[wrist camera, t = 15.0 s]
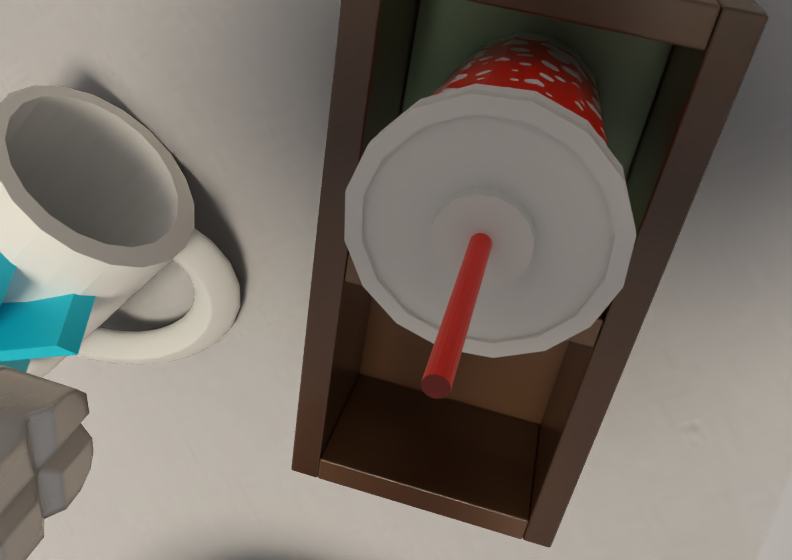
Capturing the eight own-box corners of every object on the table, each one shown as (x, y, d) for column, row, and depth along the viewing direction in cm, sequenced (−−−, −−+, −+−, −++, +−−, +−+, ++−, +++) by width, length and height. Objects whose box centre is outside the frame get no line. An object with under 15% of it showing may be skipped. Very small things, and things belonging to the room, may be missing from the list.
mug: (-217, 426, 25) (-77, 239, 19) (-106, 235, 31) (26, 48, 25) (105, 522, 31) (286, 405, 25) (144, 349, 37) (297, 221, 31)
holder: (337, 377, 31) (290, 470, 27) (403, -91, 22) (348, -71, 17) (559, 440, 30) (550, 548, 26) (733, -24, 20) (770, 15, 16)
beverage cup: (575, -37, 21) (533, 128, 9) (658, 152, 23) (711, 487, 11) (391, 64, 23) (175, 292, 12) (480, 225, 25) (371, 557, 14)
